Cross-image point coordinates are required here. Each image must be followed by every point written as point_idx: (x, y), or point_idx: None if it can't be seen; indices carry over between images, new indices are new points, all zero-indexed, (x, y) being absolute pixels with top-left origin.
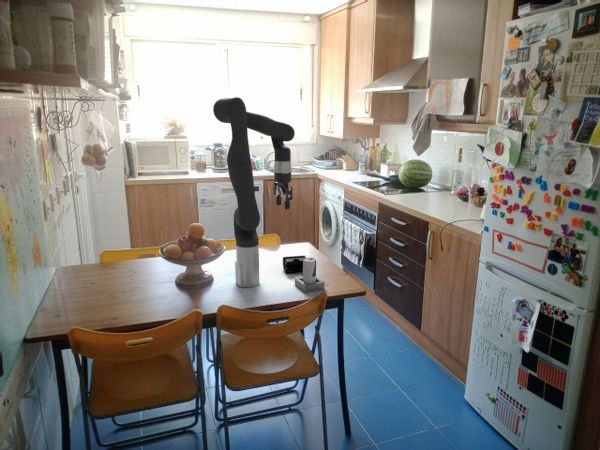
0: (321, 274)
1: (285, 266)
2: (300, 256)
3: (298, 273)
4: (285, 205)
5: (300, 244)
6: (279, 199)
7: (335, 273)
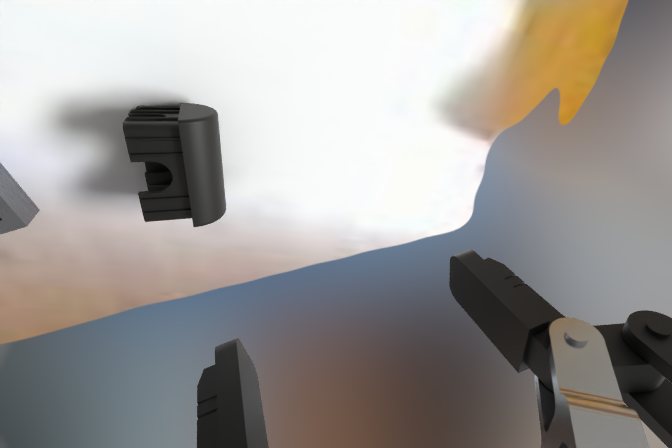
0: (132, 246)
1: (159, 114)
2: (190, 205)
3: (146, 162)
4: (217, 393)
5: (460, 212)
6: (498, 329)
7: (143, 290)
